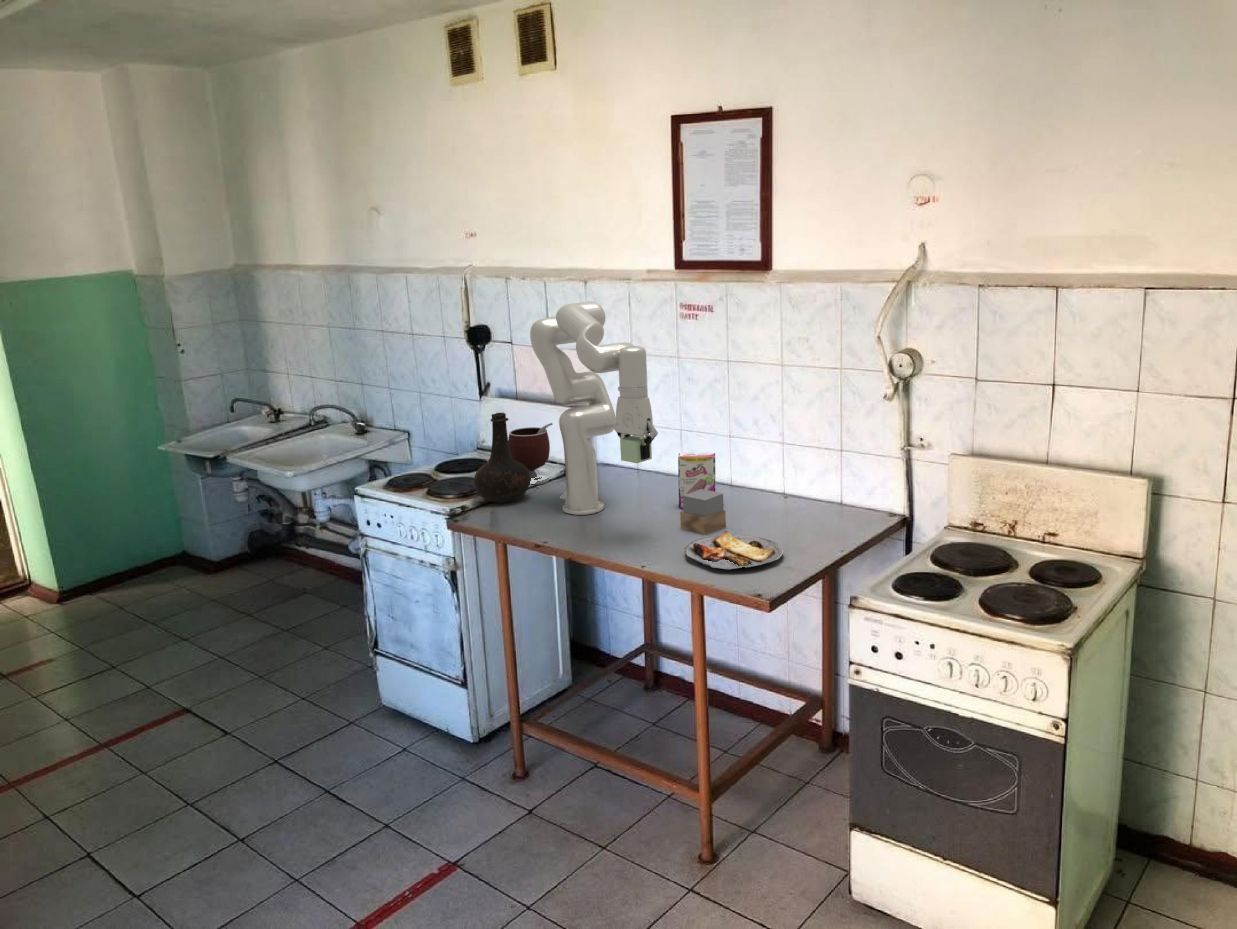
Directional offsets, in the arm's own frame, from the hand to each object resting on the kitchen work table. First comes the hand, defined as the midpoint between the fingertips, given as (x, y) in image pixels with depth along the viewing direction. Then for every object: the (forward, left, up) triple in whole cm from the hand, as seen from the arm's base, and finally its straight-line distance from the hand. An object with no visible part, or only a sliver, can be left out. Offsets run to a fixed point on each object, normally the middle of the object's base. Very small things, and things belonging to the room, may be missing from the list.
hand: (636, 456), depth 274 cm
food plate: (+32, +1, -23) cm, 39 cm away
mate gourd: (-68, +22, -23) cm, 75 cm away
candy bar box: (-3, +30, -23) cm, 38 cm away
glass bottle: (-59, +1, -23) cm, 63 cm away
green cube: (0, 0, -1) cm, 1 cm away
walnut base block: (+11, +15, -23) cm, 29 cm away
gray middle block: (+11, +15, -18) cm, 26 cm away
